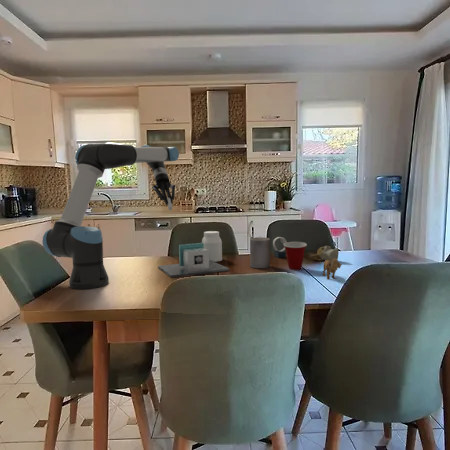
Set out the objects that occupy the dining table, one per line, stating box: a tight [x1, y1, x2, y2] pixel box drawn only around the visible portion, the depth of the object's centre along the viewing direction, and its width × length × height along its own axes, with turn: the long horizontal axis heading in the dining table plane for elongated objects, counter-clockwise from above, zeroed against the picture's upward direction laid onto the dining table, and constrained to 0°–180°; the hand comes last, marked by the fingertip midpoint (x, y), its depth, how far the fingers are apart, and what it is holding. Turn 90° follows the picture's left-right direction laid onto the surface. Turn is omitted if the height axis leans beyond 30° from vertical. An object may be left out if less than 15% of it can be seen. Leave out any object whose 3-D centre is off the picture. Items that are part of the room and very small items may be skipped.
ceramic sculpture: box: [308, 244, 340, 261], centre depth 190 cm, size 11×9×15 cm
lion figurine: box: [322, 258, 343, 280], centre depth 155 cm, size 15×5×9 cm, turn 8°
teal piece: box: [178, 242, 204, 266], centre depth 170 cm, size 12×12×10 cm
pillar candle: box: [249, 236, 271, 269], centre depth 178 cm, size 10×10×15 cm
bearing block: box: [157, 248, 230, 279], centre depth 174 cm, size 28×22×10 cm
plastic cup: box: [283, 241, 308, 271], centre depth 172 cm, size 11×11×12 cm
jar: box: [201, 230, 223, 263], centre depth 196 cm, size 12×10×15 cm
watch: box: [272, 236, 287, 259], centre depth 202 cm, size 6×8×11 cm
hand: (170, 208), depth 192 cm, fingers closed
